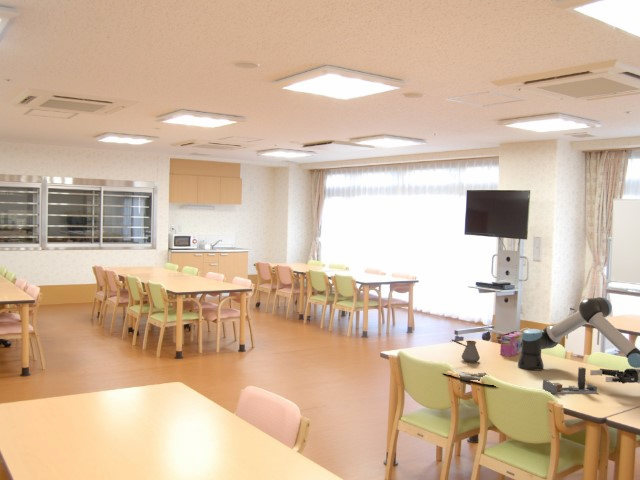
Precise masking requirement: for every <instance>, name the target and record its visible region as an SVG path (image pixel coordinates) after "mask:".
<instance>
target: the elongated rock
mask: <svg viewBox="0 0 640 480" xmlns="http://www.w3.org/2000/svg"><path fill="white" fill-rule="evenodd" d="M454 370H455V371H456V372H458V373H459V376H460V379H459V380H462V381H465V382H470V380H478V381H480V379H481V377H483V376H485V375H488V374H487V373H486V372H478V373H471V372H465V371H461V370H457V369H454Z"/></svg>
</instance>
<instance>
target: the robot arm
mask: <svg viewBox="0 0 640 480" xmlns="http://www.w3.org/2000/svg"><path fill="white" fill-rule="evenodd" d="M612 307H613V306H612V303H611V301H609V300H608V299H607V298H606V297H601V296H598V297H591V298H585V299H583V300H582V301H581V302H580V303H579V305H578V311H576V312H573V313H572V314H571V315H569V316H567V317H566V318H564V319H563V320H561V321H559V322H557V323H555V324H554V325H548V326H547V327H545V328H544V327H543V329H538V328H526V329H524V330H523V331H522V332H521V333H522V351H521V353H520V356H519V359H518V361H517V367H518V368H520V369H523V370H528V371H529V370H530V371H542V370H544V361H543V358H542V350H546V349H553V348H555V347H557V345H559V343H561V341H562V338H563V337H566V336H568V335H569V334H571V333H572V332H574V331H576V330H578V329H579V328H581V327H582V326H585V325H586V324H588V325H591V326H593V327H594V328H595V329H596V330H597V331H598V332H599V333H600V334H601V335H602V336H603V337H605V339H606V340H608V341H609V342H610V344H612V345H613V346H614V347H615V348H616V349H617V350H618V351H619V352H620V353H621V354H623V355H624V356H625V357H626V359H627V362H628V365H629V366H630V367H632V368H626V369H624V371H623V370H620V369H607V368H599V369H590V376H602V375H604V376H605V383H621V384H627V383H628V384H631V383H632V384H634V383H637V384H640V349H639V348H638V347H637V346H636V345H635V344H633V343H632V342H631V341H630V340H629V339H628V338H627V337H626V336H625V335H624V334H623V333H622V332H621V331H619V330H618V329H617V328H616V327H615V326H614V325H613V324H612V323H611V322H610V321H609V320H608V319H607V317H609V316H610V315H611V313H612V311H613V309H612Z"/></svg>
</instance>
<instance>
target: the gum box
mask: <svg viewBox="0 0 640 480" xmlns="http://www.w3.org/2000/svg"><path fill="white" fill-rule="evenodd" d="M522 333H523V332H518V331H517V330H515V331H511V332H507V333H503V334H502V335H500V353H499V354H500V355H501V356H503V357H504V356H506V357H509V358H510V357H514V356H517V355H518V354H521V351H522Z"/></svg>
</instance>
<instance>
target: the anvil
mask: <svg viewBox="0 0 640 480" xmlns="http://www.w3.org/2000/svg"><path fill="white" fill-rule="evenodd" d="M553 383H554V382H551V381H549V380H547V379H542V389H543V390H545V391H546V390H547V391H546V392H548V391H549V392H548V393H550V392H551V393H550V394H552V395H553V394H557V385H555V384H553Z"/></svg>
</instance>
